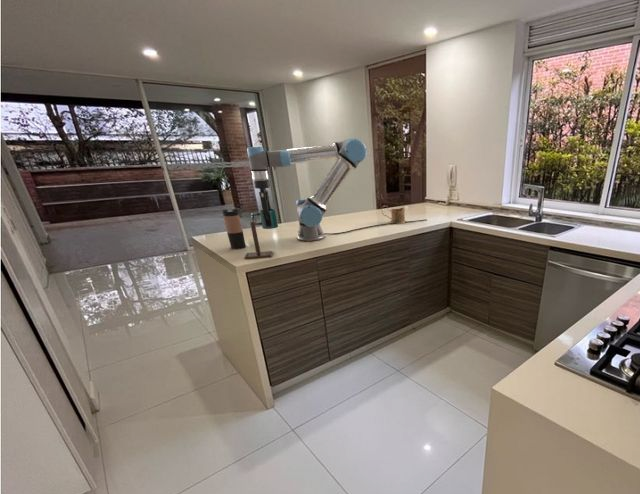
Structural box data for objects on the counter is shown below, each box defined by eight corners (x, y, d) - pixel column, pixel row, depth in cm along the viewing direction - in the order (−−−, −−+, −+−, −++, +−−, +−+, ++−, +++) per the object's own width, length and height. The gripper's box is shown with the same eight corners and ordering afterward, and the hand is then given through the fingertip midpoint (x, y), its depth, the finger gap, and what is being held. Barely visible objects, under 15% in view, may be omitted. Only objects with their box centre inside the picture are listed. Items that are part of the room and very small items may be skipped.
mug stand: (273, 249, 182) (267, 217, 175) (271, 257, 170) (264, 222, 163) (249, 251, 179) (242, 218, 171) (245, 259, 167) (237, 223, 160)
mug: (382, 221, 253) (381, 204, 248) (405, 220, 254) (405, 204, 249) (382, 224, 242) (381, 207, 237) (406, 223, 244) (406, 206, 239)
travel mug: (239, 249, 183) (231, 211, 174) (227, 248, 184) (218, 211, 176) (249, 245, 189) (241, 209, 181) (237, 244, 191) (228, 208, 183)
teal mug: (278, 225, 187) (275, 208, 183) (277, 228, 180) (274, 211, 176) (255, 226, 183) (251, 210, 180) (253, 230, 176) (249, 212, 173)
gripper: (255, 178, 180) (264, 221, 190) (250, 182, 162) (260, 229, 171) (270, 177, 182) (278, 220, 192) (267, 181, 164) (275, 227, 173)
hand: (269, 224), depth 181 cm, fingers closed on teal mug, 8 cm apart
